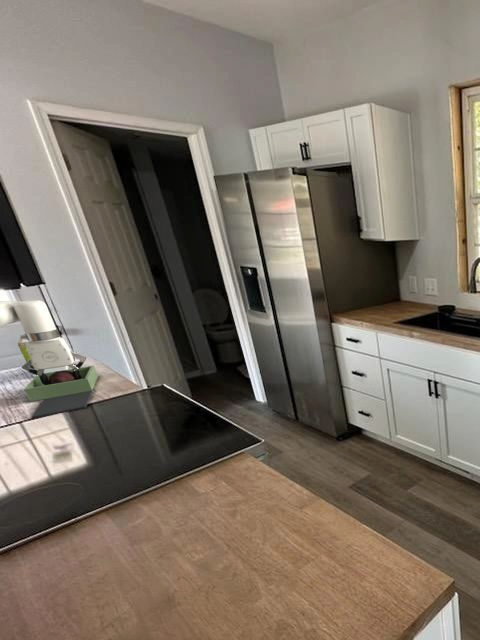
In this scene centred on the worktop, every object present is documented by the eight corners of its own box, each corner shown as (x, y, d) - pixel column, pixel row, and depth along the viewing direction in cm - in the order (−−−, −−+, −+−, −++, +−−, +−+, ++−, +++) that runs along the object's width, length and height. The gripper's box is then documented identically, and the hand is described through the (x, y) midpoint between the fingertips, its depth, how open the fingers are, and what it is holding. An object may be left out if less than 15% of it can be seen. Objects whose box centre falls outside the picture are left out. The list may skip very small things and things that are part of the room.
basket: (29, 401, 141) (24, 389, 139) (41, 385, 155) (36, 374, 153) (92, 390, 150) (87, 378, 148) (98, 376, 164) (93, 365, 162)
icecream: (40, 370, 151) (44, 383, 143) (66, 361, 156) (71, 372, 147) (55, 385, 155) (59, 398, 147) (79, 376, 160) (85, 388, 151)
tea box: (36, 369, 173) (20, 335, 167) (69, 363, 179) (55, 330, 174) (33, 378, 163) (16, 342, 157) (69, 371, 169) (53, 337, 164)
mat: (32, 418, 128) (31, 416, 128) (44, 400, 141) (43, 399, 141) (85, 407, 135) (84, 406, 135) (92, 391, 148) (91, 390, 148)
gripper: (3, 342, 137) (26, 391, 144) (76, 334, 147) (94, 379, 154) (9, 338, 143) (31, 385, 149) (79, 330, 153) (97, 374, 159)
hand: (63, 382), depth 151 cm, fingers closed on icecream, 7 cm apart
